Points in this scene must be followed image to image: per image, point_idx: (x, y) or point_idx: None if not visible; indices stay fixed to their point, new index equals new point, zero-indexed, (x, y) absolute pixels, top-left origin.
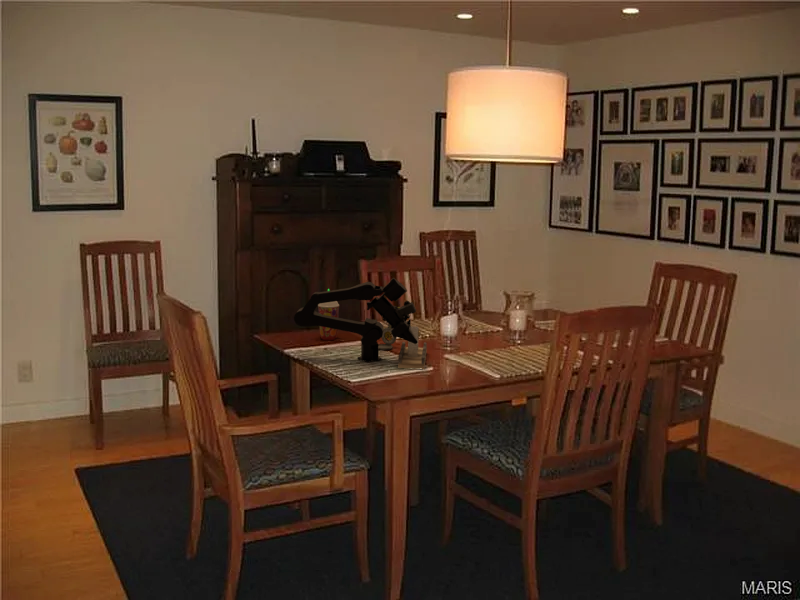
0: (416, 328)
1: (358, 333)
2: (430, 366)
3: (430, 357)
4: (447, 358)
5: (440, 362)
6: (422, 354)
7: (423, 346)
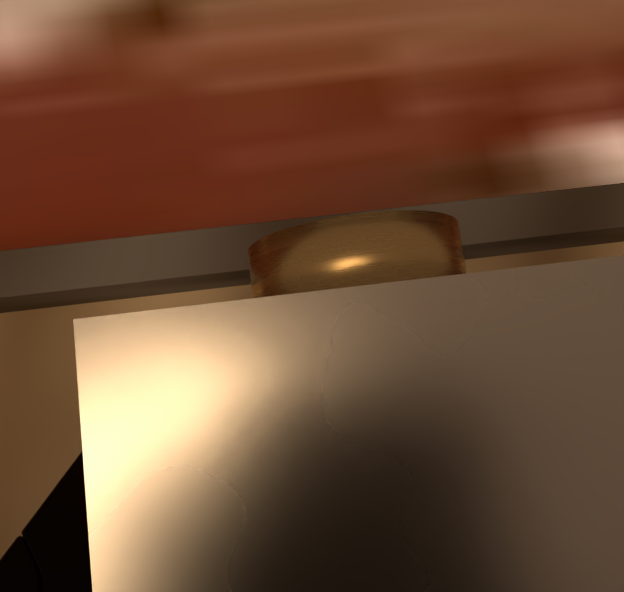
0: (504, 348)
1: None
2: (537, 161)
3: (105, 219)
4: (114, 15)
5: (325, 73)
6: (600, 224)
7: (58, 288)
